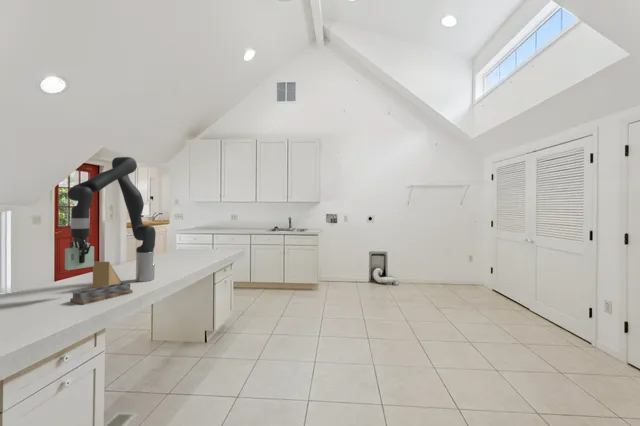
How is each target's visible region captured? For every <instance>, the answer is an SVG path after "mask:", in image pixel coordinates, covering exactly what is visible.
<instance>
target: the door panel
mask: <svg viewBox="0 0 640 426" xmlns="http://www.w3.org/2000/svg"><path fill="white" fill-rule="evenodd" d="M80 249H83V248H80ZM81 252H82V251H81ZM79 256H80V255H79V251H78V248H71V247H67V248H64V270H66V271H71V270H78V269H83V268H84V269H85V268H91V267H92V268H93V266H94V262H95V246H93V245H91V246H90V249H89V252H88V254H86V255H85V262H84V263H79Z"/></svg>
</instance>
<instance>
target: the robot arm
mask: <svg viewBox="0 0 640 426" xmlns="http://www.w3.org/2000/svg"><path fill="white" fill-rule="evenodd" d="M111 167H112V168H110V169H107V170H105V171H103V172H100V173H98V174H96V175H94V176H92V177H90V178H89V179H87V180H86V181H83V182H79V183H77V184H75V185H72V186H71V187H70V188H69V189H68V192H67V196H68V198H69V199H70V200H71V201H74V202H77V204H76V205H74V206H73V207H71V210H70V211H71V215H70V216H71V219H70V238H72V241H70V242H69V248H78V251H79V255H80V256H79V263H84V262H85V255H86V254H88V252H89V249H90V246H92V243H91V242H90V243H89V242H88V238H90V230H91V229H90V228H91V227H90V208H91V204H92V202H93V198H94V193H98V192H99V191H101V190H102V189H104V188H105V187H107V186H108V185H110V184H112V183H114V182H115V181H117V182H118V184H119V185H118V186H119V187H120V190H121V194H122V196H123V200H124V204H125V207H126V209H127V213H128V216H129V220H130V225H131V230H132V234H133V238H134V239H136V240H137V241H142V243H141V245H139V246H137V247H136V250H135V251H136V255H135V257H136V259H135V261H136V262H135V282H149V281H153V280H155V265H156V264H155V263H154V249H155V246H156V229H155V228H154V226H152V225H144V223H143V219H142V214H143V210H144V208H145V207H144V205H145V203H144V200H143V196H142V193H141V192H140V190H139V189H138V188H137V187H136V185H135V184H133V182H132V181H131V178H130V176H129V174H133V173H134V172H135V171H136V170H137V167H138V164H137V161H136V160H135V159H134V158H133V157H130V156H121V157H120V156H118V157H114V158H113V159H112V160H111ZM80 248H83V249H80ZM81 251H82V252H81Z"/></svg>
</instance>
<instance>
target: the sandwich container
mask: <svg viewBox="0 0 640 426" xmlns="http://www.w3.org/2000/svg"><path fill="white" fill-rule="evenodd" d="M117 283H123V282H122V280H121V279H120V276H119V275H118V274H117V273H116V270H114V268H113V265H111V263H110V261H94V266H92V289H93V288H98V287H103V286H108V285H113V284H117Z"/></svg>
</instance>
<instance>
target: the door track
mask: <svg viewBox="0 0 640 426" xmlns="http://www.w3.org/2000/svg"><path fill="white" fill-rule="evenodd" d="M125 294H126V295H130V294H133V289H131V283H127V282H122V283H117V284H113V285H108V286H103V287H98V288H93V287H92V288H88V289H84V290H80V291H75V292H72V298H70V299H69V300H70V303H74V304H79V305H87V304H88V305H89V304H92V303H96V302H101V301H105V300H109V299H108V298H110V299H113V297H114V298H117V296H118V297H121V296H120V295H122V296H125ZM104 299H105V300H104ZM100 300H101V301H100Z"/></svg>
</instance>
